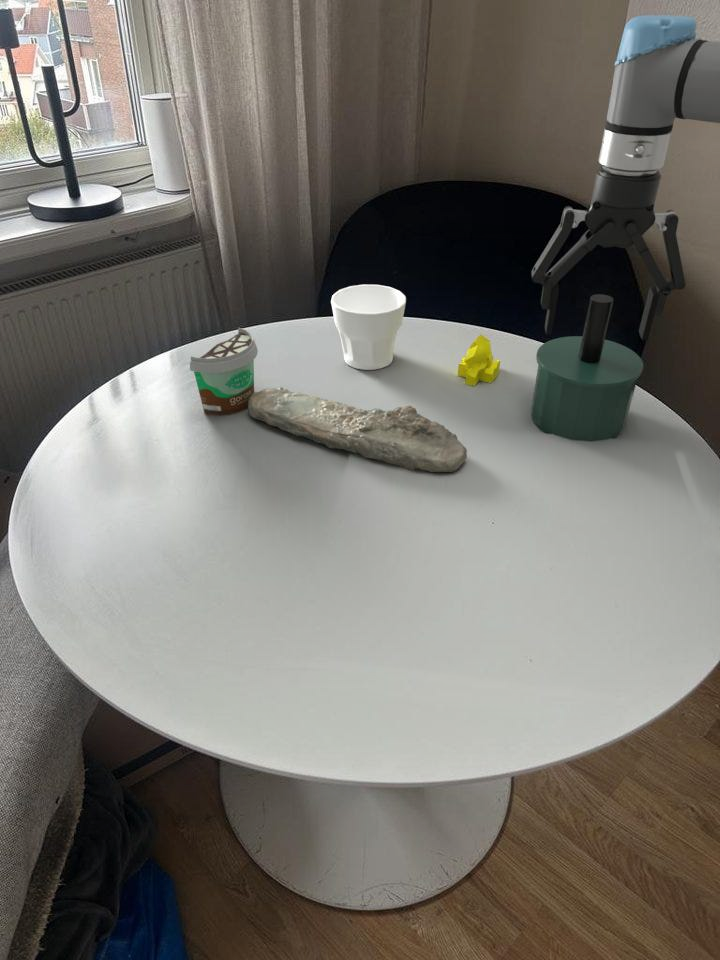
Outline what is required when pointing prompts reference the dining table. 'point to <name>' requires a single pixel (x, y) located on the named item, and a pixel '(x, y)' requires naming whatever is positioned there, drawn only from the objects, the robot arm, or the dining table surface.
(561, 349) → the pot lid
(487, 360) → the yellow faceted cluster
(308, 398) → the elongated rock
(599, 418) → the pot
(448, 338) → the dining table surface
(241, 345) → the food container
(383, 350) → the cup
